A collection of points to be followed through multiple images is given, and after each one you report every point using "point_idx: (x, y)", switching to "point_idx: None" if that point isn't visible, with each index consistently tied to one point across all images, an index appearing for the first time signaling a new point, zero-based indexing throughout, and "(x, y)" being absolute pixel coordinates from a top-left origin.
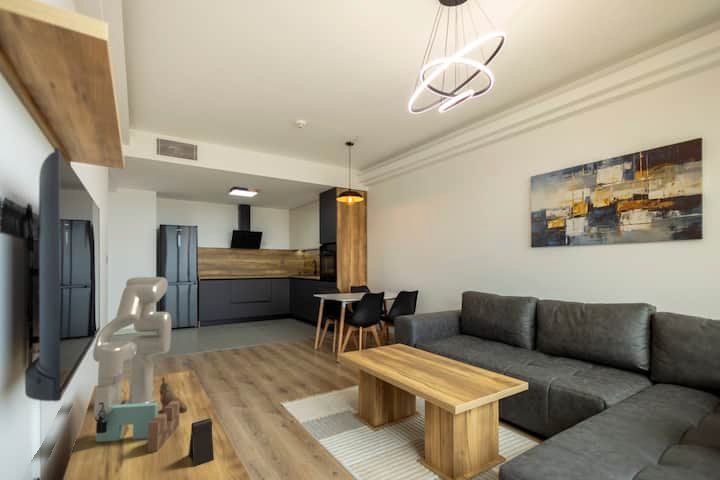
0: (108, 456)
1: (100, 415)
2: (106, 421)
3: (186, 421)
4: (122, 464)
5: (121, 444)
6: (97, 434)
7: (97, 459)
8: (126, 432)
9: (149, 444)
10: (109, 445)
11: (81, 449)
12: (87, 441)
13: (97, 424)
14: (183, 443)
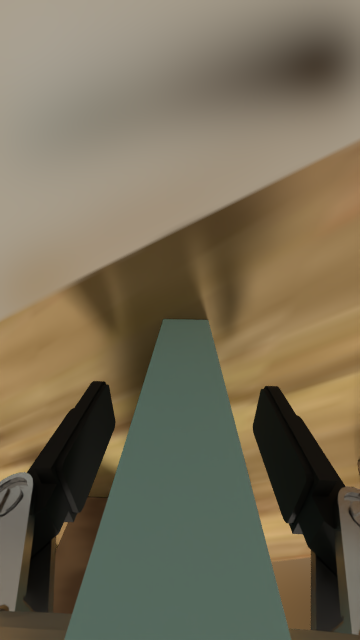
0: (43, 420)
1: (10, 591)
2: (65, 518)
3: (275, 527)
4: (8, 467)
5: (130, 424)
6: (158, 341)
7: (17, 397)
8: (242, 402)
9: (66, 530)
10: (123, 389)
11: (85, 287)
12: (176, 264)
13: (56, 444)
14: None
